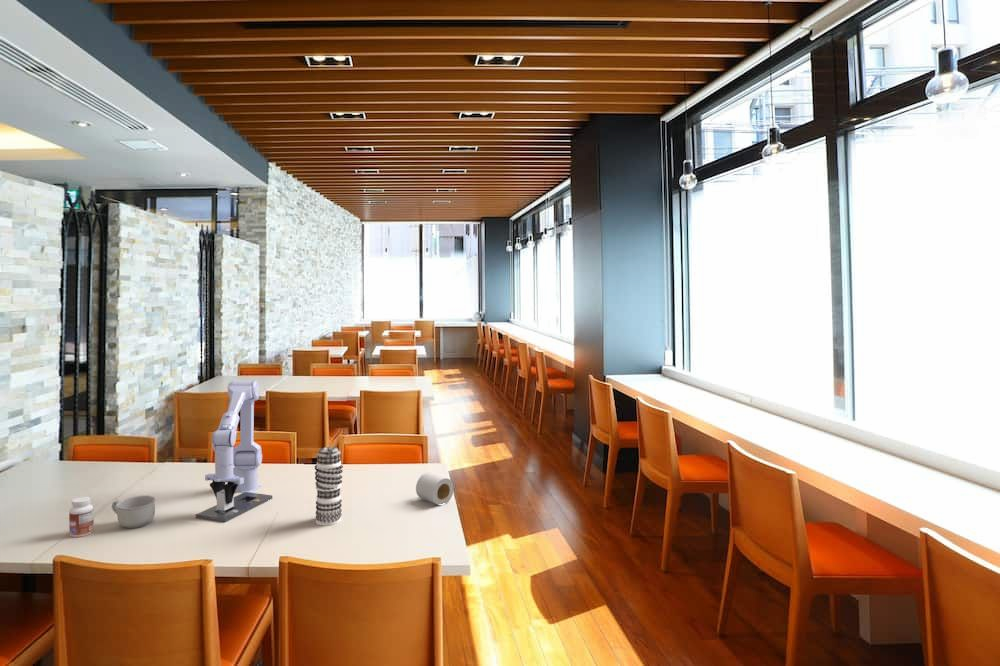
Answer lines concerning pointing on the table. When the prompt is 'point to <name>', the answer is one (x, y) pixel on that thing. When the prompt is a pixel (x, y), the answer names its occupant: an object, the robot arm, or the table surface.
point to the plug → (223, 501)
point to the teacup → (135, 510)
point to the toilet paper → (434, 488)
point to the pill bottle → (81, 517)
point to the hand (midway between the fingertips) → (224, 502)
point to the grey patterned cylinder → (328, 486)
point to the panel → (235, 507)
